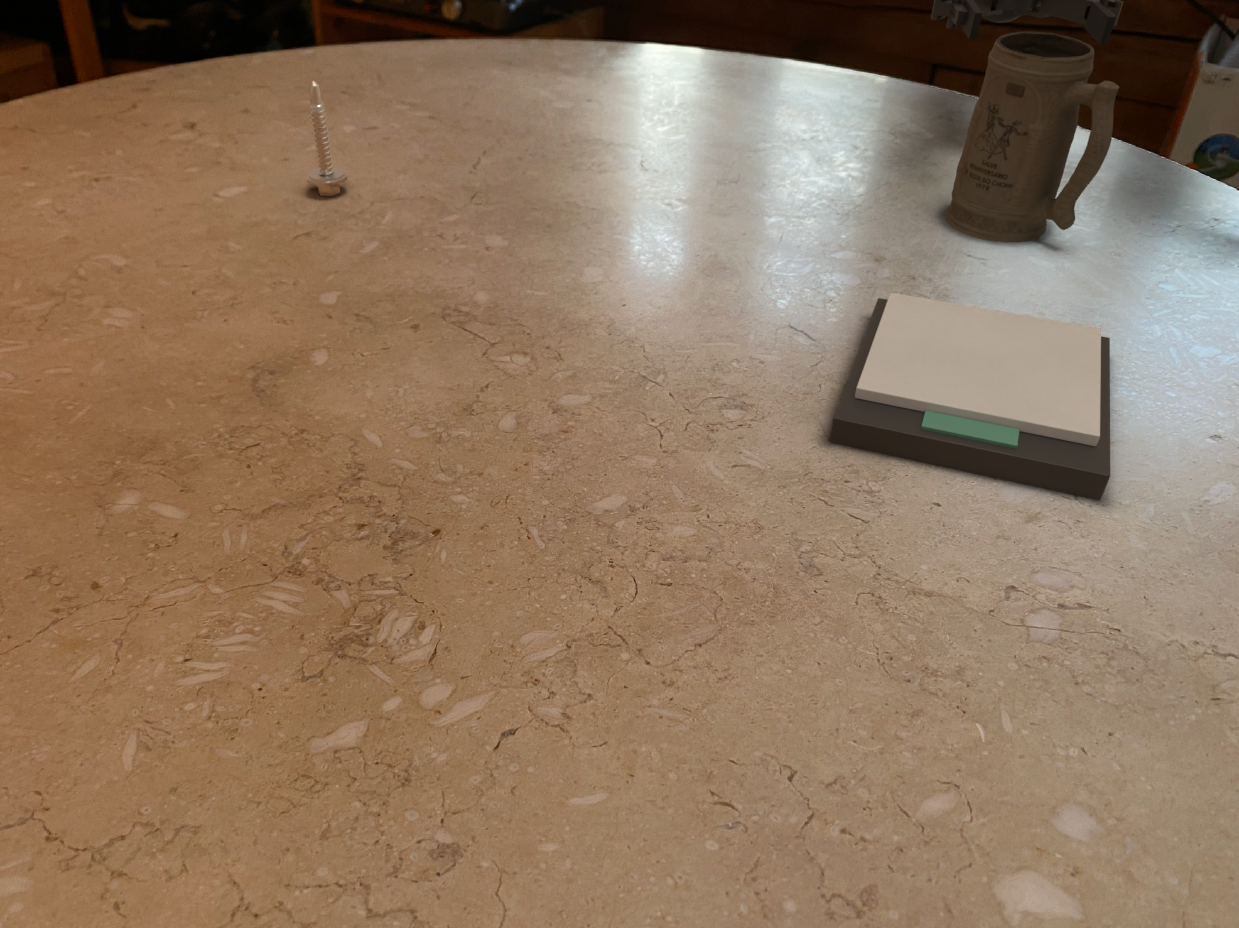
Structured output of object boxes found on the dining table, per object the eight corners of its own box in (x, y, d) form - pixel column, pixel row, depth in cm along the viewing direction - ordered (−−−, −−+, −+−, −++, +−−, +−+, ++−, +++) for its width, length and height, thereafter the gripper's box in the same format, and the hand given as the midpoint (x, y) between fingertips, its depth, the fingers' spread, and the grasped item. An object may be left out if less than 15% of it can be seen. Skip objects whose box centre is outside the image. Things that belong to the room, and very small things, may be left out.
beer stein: (918, 223, 117) (973, 38, 104) (972, 199, 123) (1030, 20, 109) (1041, 278, 109) (1117, 84, 95) (1092, 250, 114) (1172, 62, 101)
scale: (1098, 367, 93) (1113, 327, 90) (1097, 508, 77) (1115, 464, 74) (872, 326, 99) (880, 287, 96) (827, 449, 83) (835, 407, 80)
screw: (341, 201, 123) (303, 199, 123) (355, 186, 127) (317, 184, 127) (326, 88, 115) (284, 85, 115) (340, 75, 118) (300, 73, 119)
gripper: (1097, 19, 128) (1151, 70, 112) (891, 12, 131) (913, 61, 114) (1118, -49, 123) (1177, -6, 107) (903, -55, 126) (929, -14, 109)
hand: (1041, 28), depth 111 cm, fingers open, 13 cm apart
